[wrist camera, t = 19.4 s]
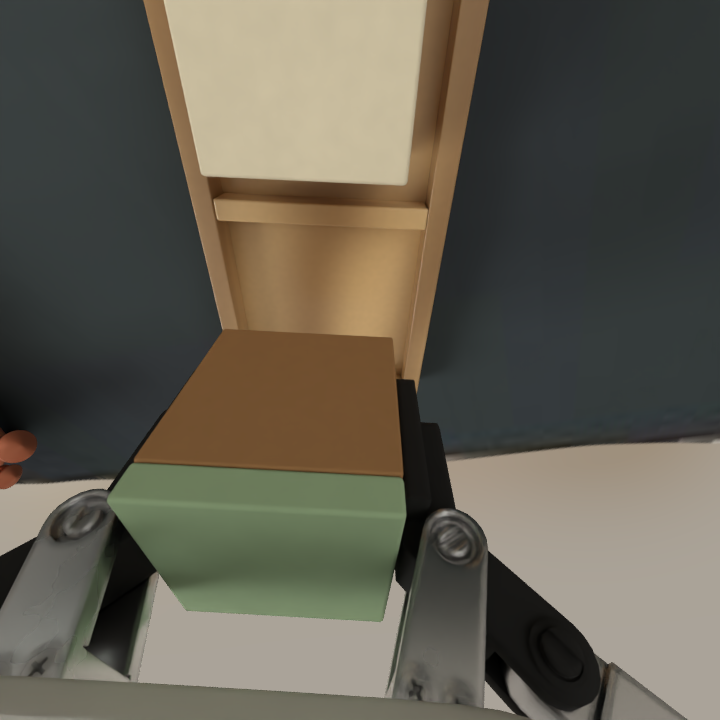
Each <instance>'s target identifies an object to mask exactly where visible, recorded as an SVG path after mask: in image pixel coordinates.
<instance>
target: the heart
mask: <svg viewBox="0 0 720 720" xmlns="http://www.w3.org/2000/svg"><path fill="white" fill-rule="evenodd" d="M36 447H37V440H36V438H35V436H34V435H33V434H32V433H30V432H28V431H25V430H16V431H12V432H9V433H7V434H5V432H4V431H3V430H2V429H1V428H0V489H7V488H9V487H11V486H13V485H14V484H15V483H16V482H17V481H18V480H19V478H20V477H21V474H22V467H21V466H20V465H16V464H14V465H10V466H9V465H3V464H4V463H5V462H8V463H17V462H21V461H24V460H26V459H27V458H29V457H30V456H31V455H32V454H33V453H34V451H35V450H36Z"/></svg>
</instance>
